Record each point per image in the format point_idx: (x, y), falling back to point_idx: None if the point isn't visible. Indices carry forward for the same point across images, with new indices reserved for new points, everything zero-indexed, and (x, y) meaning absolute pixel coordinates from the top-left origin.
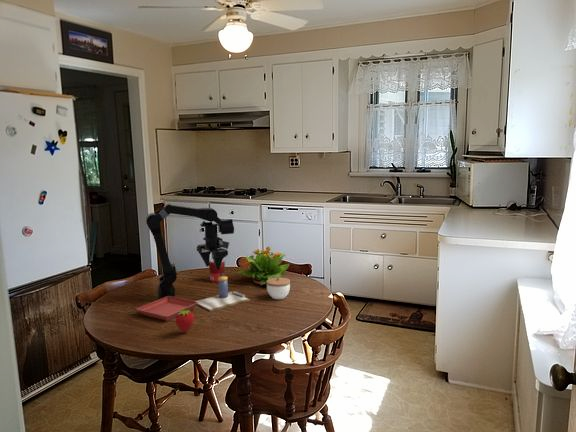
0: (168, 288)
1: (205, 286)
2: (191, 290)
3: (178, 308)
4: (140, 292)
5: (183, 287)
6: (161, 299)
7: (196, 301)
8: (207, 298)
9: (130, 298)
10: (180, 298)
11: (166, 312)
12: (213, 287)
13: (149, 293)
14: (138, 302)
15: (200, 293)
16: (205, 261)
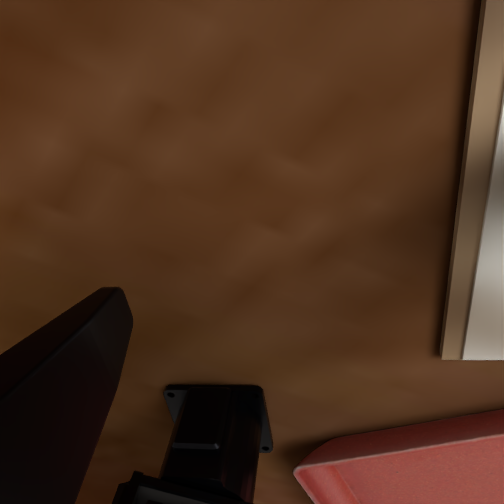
0: (251, 498)
1: (45, 80)
2: (118, 239)
3: (485, 454)
4: None
5: (2, 253)
6: (320, 498)
7: (475, 350)
8: (487, 263)
9: (108, 497)
10: (414, 452)
11: (484, 502)
12: (123, 15)
13: None
14: None
15: (250, 218)
16: (89, 445)
